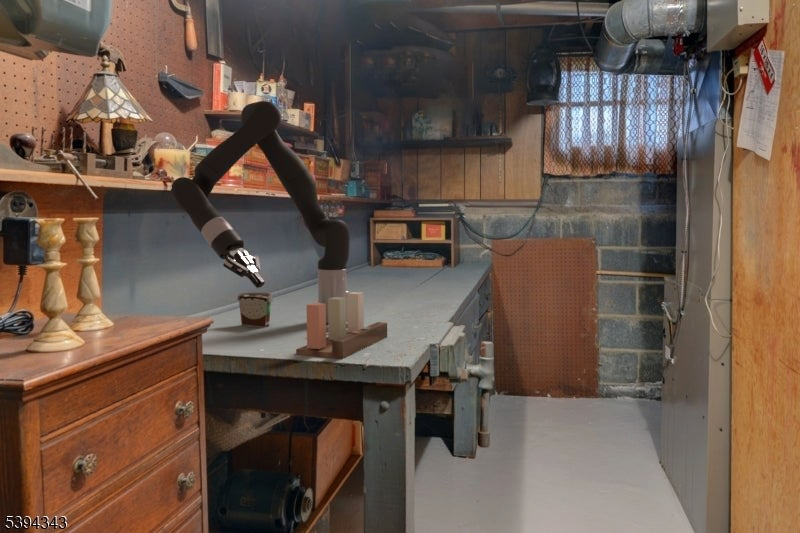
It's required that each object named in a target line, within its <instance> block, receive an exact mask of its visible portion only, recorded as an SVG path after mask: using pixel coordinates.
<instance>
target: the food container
mask: <svg viewBox="0 0 800 533" xmlns="http://www.w3.org/2000/svg"><path fill="white" fill-rule="evenodd" d="M237 301H238V304H239V313H240V322H241V323H240V325H241V326H244V325H246V327H254V326H255V327H256V328H264V327H266V328H268V327H270V321H271V320H270V318H271V305H272V304H271V303H272V302H273V301H274V299H273V296H272V294H271V293H270V292H269V293H268V292H261V291H260V292H258V291H257V292H243V293H238V294H237ZM255 327H254V328H255Z"/></svg>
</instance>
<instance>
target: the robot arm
mask: <svg viewBox="0 0 800 533" xmlns="http://www.w3.org/2000/svg"><path fill="white" fill-rule="evenodd" d="M240 117H241V118H240V119H241V122H242V125H241V126H240V127H239V128H238V129H236V131H234V133H232V134H231V135H230V136H228V137H227V138H226V139H225V140H223V141H222V142H221V143H219V144H218V145H216V146H215V147H214V148H213V149H212V150H210V152H208V153H207V154H206V155H205V157H203V158H202V159H201V160H200V161H199V163H197V165H196V166H195V168H194V175H193V177H192V178H189V177H186V176H182V177H178V178H176V179H174V180H173V182H172V183H171V186H172V189H171V188H170V194H171V196H172V197H173V199H174V202H175V203H176V205H177V207H178V208H179V209H181V210H183V211H185V212H186V213H187V214H188V216H189V218H190V219H191V221H192V224H194V226H195V227H196V229H197V230H198V231H199V232H200V233H201V234H202V236H203V238H204V240H205V241H206V243H207V244H208V245H209V246H210V248H212V250H213V251H214V252H215V253H216V255H217V256H218V257H219V258H220V259H222V260H225V262H224V263H223V265H222V266H223V267H224V268H226V269H227V270H228V271H231V272H232V273H234V274H236V275H237V276H239V277H241V278H243V277H245V278H246V279H248V280H250V282H251V284H253V285H254V286H255V288H256V289H260V288H262V287H263V286H264V285H265V283H266V282H265V280H264V278H262V276H261V275H260V274H259V271H260V270H261V264H260V257H259V256H258V255H256V254H254V256H253V255H251V254H250V253H249V252H248V251H247V249H245V248H244V245H245V244H244V240H243V239H242V237H241V235H239V234H238V233H237V231H236V230H235V228H234V227H233V226H232V225H231V224H230V223H229V222H228V221H227V220H226V219H225V218H224V217H223V216H222V215H221V213H220V212H219V211H218V209H217V208H215V207H214V206H213V204H212V203H211V202H210V201H209V199H208V197H209V196H210V194H211V193H212V191H213V190H214V187H215V185H216V184H217V183H218V182H219V181H220V180H221V179H222V178H223V177H225V175H226V174H227V173H228V172H229V171H230V169H232V168H233V167H234V165H235V164H236V163H238V162H239V160H240V159H242V158H243V156H244V155H245V154H247V153H248V152H249V151H250V150H251V149H252V148H254V146H255V145H257V146H258V147H259V149H260V150H261V152H262V153H263V155H264V156H265V158H266V160H267V161H268V162H269V165H270V166H271V167H272V170H273V171H274V173H275V174H276V176H277V178H278V180H279V181H280V183H281V185H282V186H283V188H284V190H285V191H286V192H287V194H288V195H289V197H290V199H291V200H292V202H293V203H294V205H295V208H297V210H298V211H299V213H300V214H301V216H302V218H303V221H304V222H305V224H306V226H307V228H308V231H309V232H310V234H311V237H312V238H313V240H314V241H315V243H316V244H317V245H318V246H320V247H322V248H324V254H323V257H322V258H320V259H319V260H318V262H317V284H318V286H317V292H318V294H317V300H318V301H317V303H324V304H326V324H328V299H329V298H333V297H341V298H346V322H347V293H350V291H348V290H347V288H348V287H347V282H348V281H347V264H348V261H349V257H350V230H349V227H348V225H347V223H346V222H345V221H344V220H342V219H331V218H329V217H328V216H327V215H326V213H325V212H324V210H323V208H322V207H321V205H320V202H319V200H318V198H319V197H318V191H317V185H316V181H315V179H314V177H313V175H312V173H311V171H310V169H309V168H308V167H307V165H306V164H305V162H304V161H303V160H302V159H301V158H300V157H299V155H297V153H296V152H294V151H293V150H292V149H291V148H290V147H289V146H288V145H287V144H286V143H285V141H283V139H282V138H281V136H280V135H279V133H278V131H277V129H278V128H279V126H280V124H281V122H282V114H281V111H280V109H279V107H278V106H277V105H276V104H275V103H273V102H272V101H268V100H261V101H256V102H251V103H249V104H246V105H245V106H244V107H243V109H242V110H241V115H240Z"/></svg>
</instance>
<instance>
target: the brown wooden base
mask: <svg viewBox="0 0 800 533" xmlns="http://www.w3.org/2000/svg"><path fill="white" fill-rule="evenodd" d="M386 337H387V338H388V322H385V321H384V322H382V321H377V322H375V323H372V324H370V325H368V326H364V328H361V329H360V330H357V331H354V332H347V329H346V335H345V336H343V337H340V338H338V339H335V340H330V339H329V336H326V347H323V348H321V349H312V348H307V344H306V345H303V346H300V347H298V348H296V350H295V353H296V355H301V356H302V355H303V356H305V355H306V356H314V357H322V358H331V359H332V358H333V359H340V358H341V359H343V358H344V359H346V358H348V357H350V356H352V355H354V354H356V353H358V352H360V351H361V349H362V350H364V349H366V348H368V347H370V346H372V345H374V344H373V343H375V344H376V342H377V343H379V342H381V341H382V339H383V340H384V338H385V339H387V338H386ZM380 340H381V341H380ZM378 341H379V342H378ZM371 344H372V345H371ZM369 345H370V346H369ZM367 346H368V347H367ZM365 347H366V348H365ZM363 348H364V349H363ZM359 350H360V351H359ZM357 351H358V352H357ZM355 352H356V353H355ZM353 353H354V354H353ZM351 354H352V355H351ZM349 355H350V356H349ZM347 356H348V357H347ZM345 357H346V358H345Z"/></svg>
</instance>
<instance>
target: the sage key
mask: <svg viewBox="0 0 800 533" xmlns="http://www.w3.org/2000/svg"><path fill="white" fill-rule="evenodd" d="M327 324H328V326H327V327H328V332H327V334H328V337H329V339H330V340H335V339H338V338H340V337H343V336H345V335H346V330H347V329H346V324H347V321H346V298H341V297H333V298H329V299H328V323H327Z"/></svg>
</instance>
